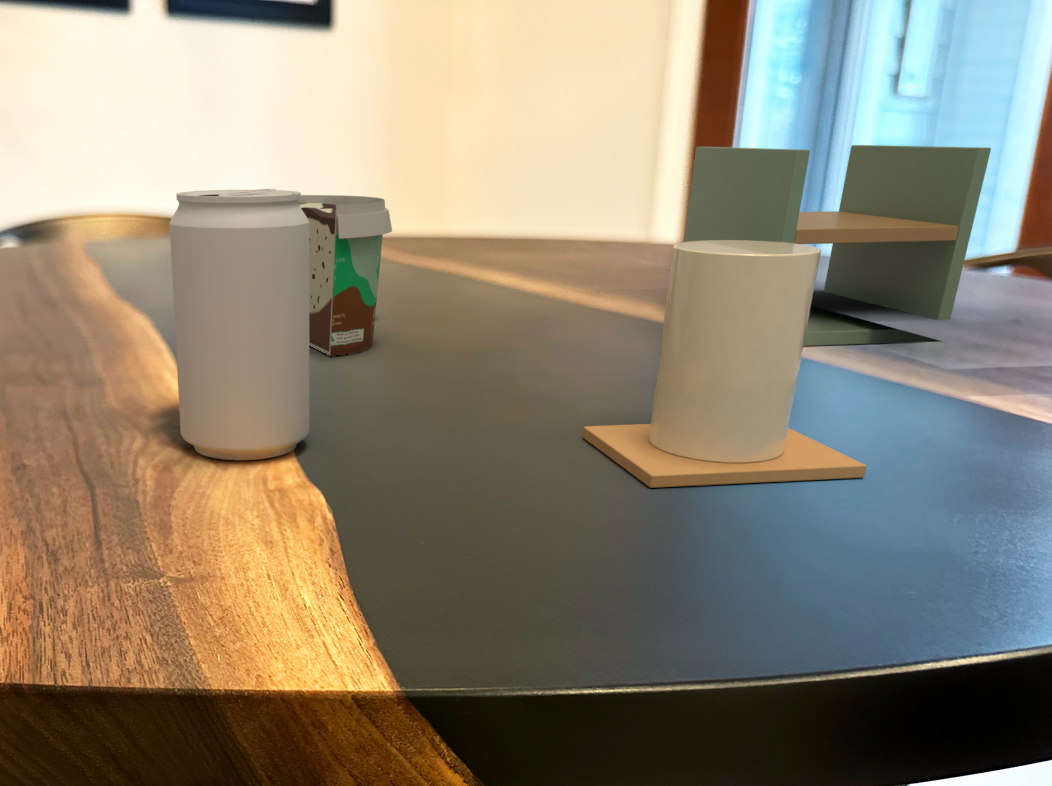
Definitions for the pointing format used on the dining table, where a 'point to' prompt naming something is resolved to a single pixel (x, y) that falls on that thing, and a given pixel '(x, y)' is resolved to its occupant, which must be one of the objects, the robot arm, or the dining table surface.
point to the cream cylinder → (731, 348)
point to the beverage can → (241, 321)
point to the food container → (344, 269)
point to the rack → (853, 225)
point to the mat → (673, 471)
